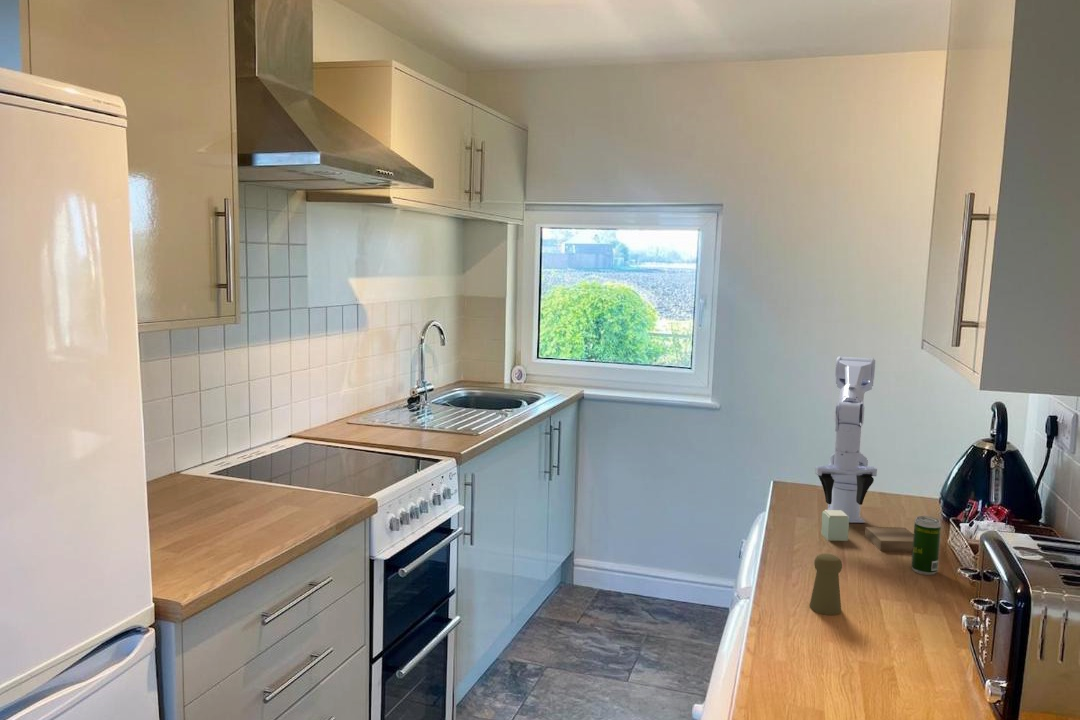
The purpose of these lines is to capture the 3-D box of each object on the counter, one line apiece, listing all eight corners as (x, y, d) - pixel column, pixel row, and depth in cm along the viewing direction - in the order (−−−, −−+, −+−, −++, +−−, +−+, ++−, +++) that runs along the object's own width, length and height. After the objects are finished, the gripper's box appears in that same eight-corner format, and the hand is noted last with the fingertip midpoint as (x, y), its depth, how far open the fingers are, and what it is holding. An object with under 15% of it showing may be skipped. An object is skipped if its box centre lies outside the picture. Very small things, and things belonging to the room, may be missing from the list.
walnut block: (864, 538, 199) (865, 526, 199) (904, 538, 199) (905, 527, 198) (880, 552, 189) (881, 540, 189) (922, 553, 189) (923, 541, 188)
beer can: (941, 571, 177) (945, 520, 175) (930, 577, 173) (934, 525, 172) (917, 564, 181) (921, 514, 179) (906, 570, 177) (910, 518, 176)
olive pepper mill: (826, 617, 153) (829, 563, 152) (802, 605, 158) (805, 553, 157) (848, 611, 156) (851, 558, 154) (824, 599, 161) (827, 548, 160)
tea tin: (821, 533, 201) (822, 509, 200) (840, 534, 201) (842, 509, 200) (827, 540, 196) (829, 515, 195) (847, 541, 196) (849, 516, 195)
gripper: (823, 453, 190) (820, 507, 191) (883, 454, 189) (879, 508, 191) (813, 446, 197) (810, 499, 198) (871, 447, 196) (868, 499, 198)
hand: (843, 503), depth 195 cm, fingers open, 7 cm apart
